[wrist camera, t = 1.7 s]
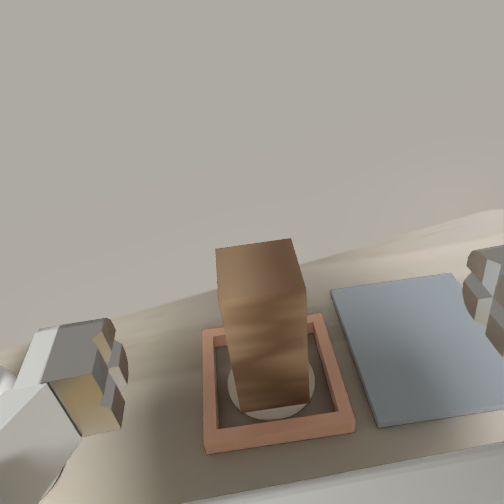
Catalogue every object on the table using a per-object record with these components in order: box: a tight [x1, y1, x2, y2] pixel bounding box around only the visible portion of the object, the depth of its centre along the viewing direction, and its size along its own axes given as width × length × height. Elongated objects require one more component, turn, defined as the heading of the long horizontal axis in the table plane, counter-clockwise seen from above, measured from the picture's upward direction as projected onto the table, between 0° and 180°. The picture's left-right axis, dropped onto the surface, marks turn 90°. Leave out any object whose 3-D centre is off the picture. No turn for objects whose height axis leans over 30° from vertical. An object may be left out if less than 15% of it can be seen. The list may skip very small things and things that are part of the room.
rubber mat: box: [331, 273, 504, 428], centre depth 32 cm, size 10×12×1 cm
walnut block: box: [216, 239, 310, 413], centre depth 28 cm, size 4×4×10 cm
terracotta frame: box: [202, 313, 356, 454], centre depth 30 cm, size 9×9×1 cm
